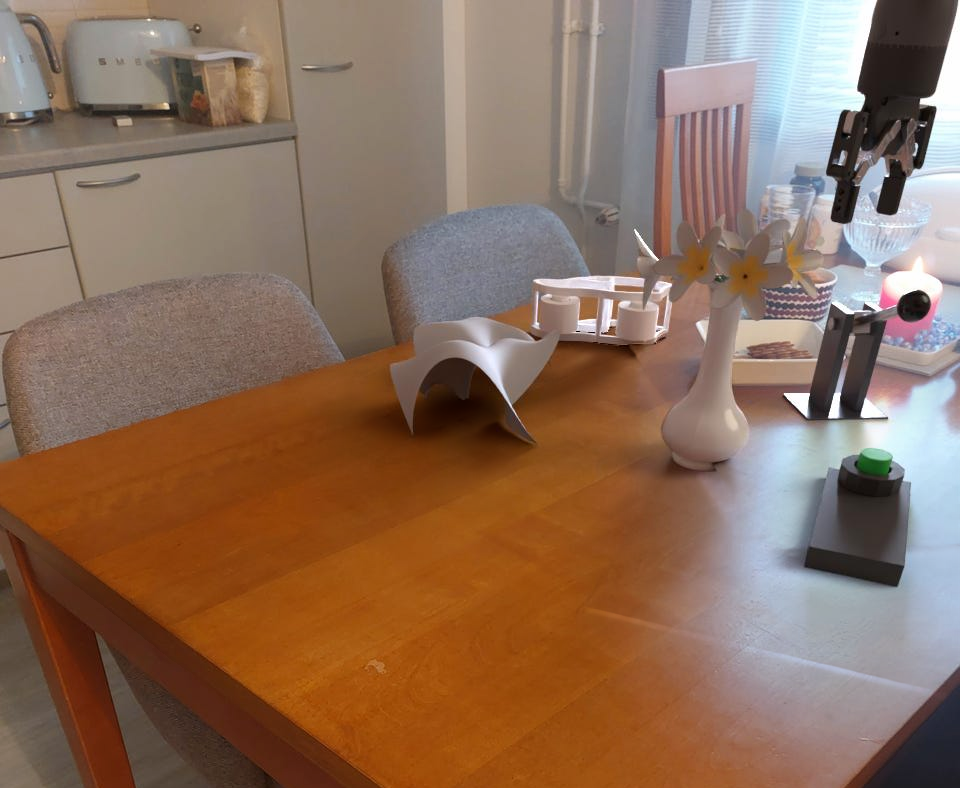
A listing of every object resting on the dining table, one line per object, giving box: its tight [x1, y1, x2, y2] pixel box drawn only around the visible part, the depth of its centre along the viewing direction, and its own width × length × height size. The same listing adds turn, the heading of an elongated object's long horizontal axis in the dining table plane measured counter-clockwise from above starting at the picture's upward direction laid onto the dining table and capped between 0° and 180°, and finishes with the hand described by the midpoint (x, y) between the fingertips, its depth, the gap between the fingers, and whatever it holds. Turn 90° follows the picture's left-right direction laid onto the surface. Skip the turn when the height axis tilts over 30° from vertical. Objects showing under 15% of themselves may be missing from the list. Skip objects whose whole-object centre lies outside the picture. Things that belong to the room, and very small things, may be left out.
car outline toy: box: [529, 275, 673, 344], centre depth 133 cm, size 20×11×7 cm, turn 78°
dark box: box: [803, 454, 912, 588], centre depth 88 cm, size 19×8×4 cm, turn 157°
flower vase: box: [633, 207, 825, 472], centre depth 94 cm, size 13×18×25 cm
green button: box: [856, 447, 894, 475], centre depth 91 cm, size 3×3×2 cm
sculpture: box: [389, 316, 561, 446], centre depth 111 cm, size 25×19×10 cm
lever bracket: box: [782, 302, 889, 421], centre depth 109 cm, size 8×10×13 cm
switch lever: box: [849, 289, 932, 337], centre depth 101 cm, size 15×3×3 cm, turn 6°
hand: (863, 218), depth 100 cm, fingers open, 8 cm apart
